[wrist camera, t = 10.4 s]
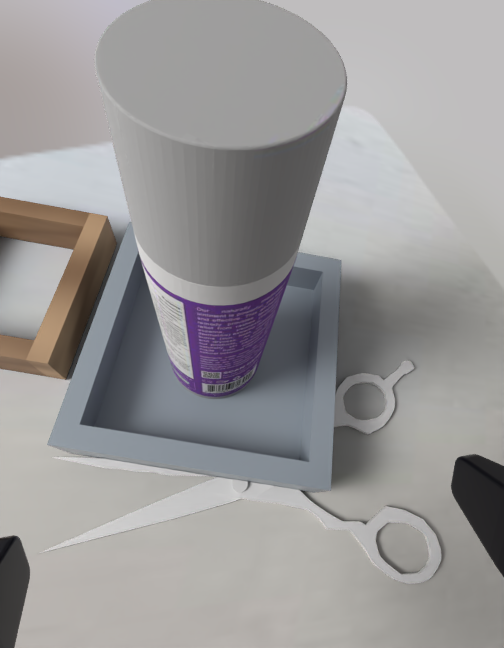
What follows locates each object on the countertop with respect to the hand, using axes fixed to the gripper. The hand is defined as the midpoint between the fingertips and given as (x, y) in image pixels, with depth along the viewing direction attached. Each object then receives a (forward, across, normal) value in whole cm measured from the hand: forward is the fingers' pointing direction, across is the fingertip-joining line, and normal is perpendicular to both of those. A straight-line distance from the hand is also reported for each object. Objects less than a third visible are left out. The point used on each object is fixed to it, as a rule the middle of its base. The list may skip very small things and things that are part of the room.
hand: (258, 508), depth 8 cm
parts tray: (+13, 0, +3) cm, 14 cm away
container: (+13, 0, +2) cm, 13 cm away
